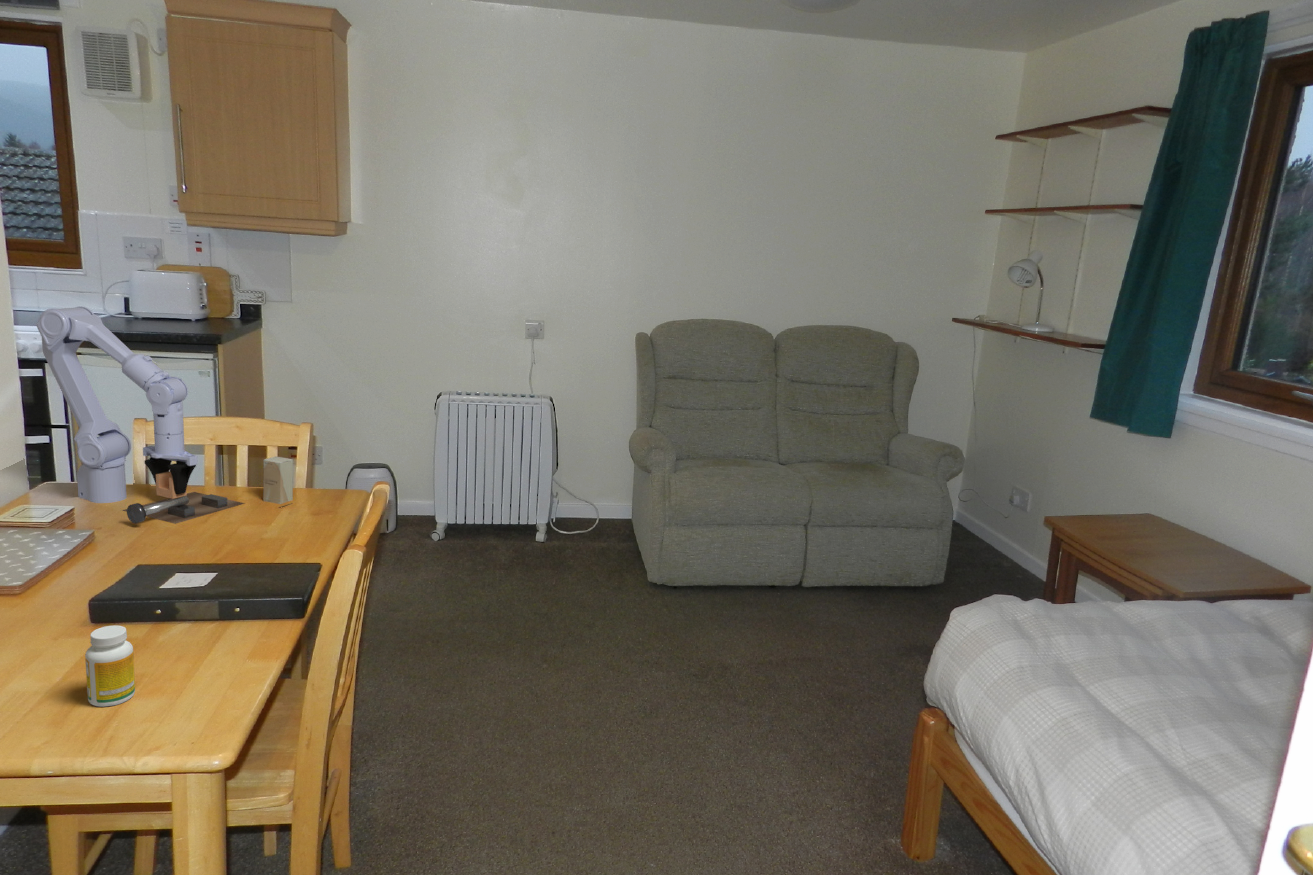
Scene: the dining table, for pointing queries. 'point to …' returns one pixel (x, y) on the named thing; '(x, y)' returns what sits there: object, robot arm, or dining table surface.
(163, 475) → the bracket
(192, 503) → the board
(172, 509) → the supports
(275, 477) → the box
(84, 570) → the dining table surface
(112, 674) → the supplement bottle
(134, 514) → the shaft
